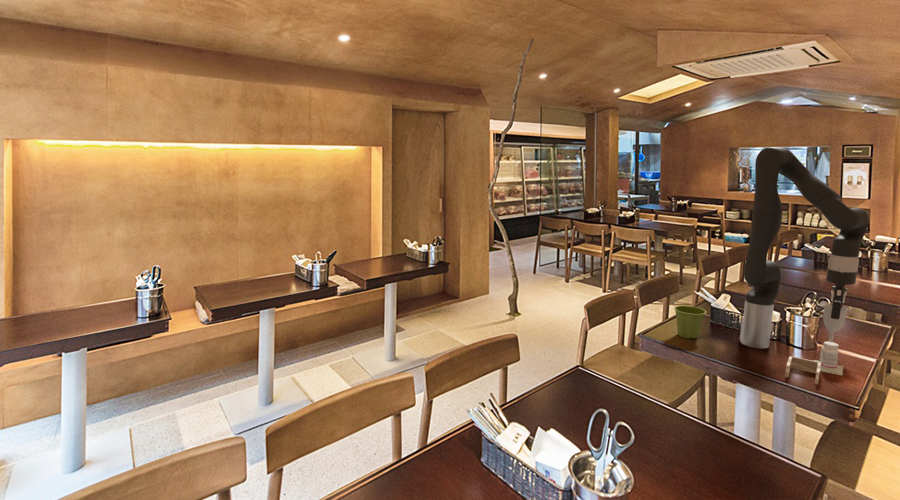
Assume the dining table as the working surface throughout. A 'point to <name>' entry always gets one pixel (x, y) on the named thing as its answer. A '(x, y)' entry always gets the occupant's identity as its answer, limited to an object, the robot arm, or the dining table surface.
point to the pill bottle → (829, 355)
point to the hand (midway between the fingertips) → (835, 315)
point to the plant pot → (689, 320)
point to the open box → (803, 366)
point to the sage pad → (833, 370)
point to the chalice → (833, 320)
